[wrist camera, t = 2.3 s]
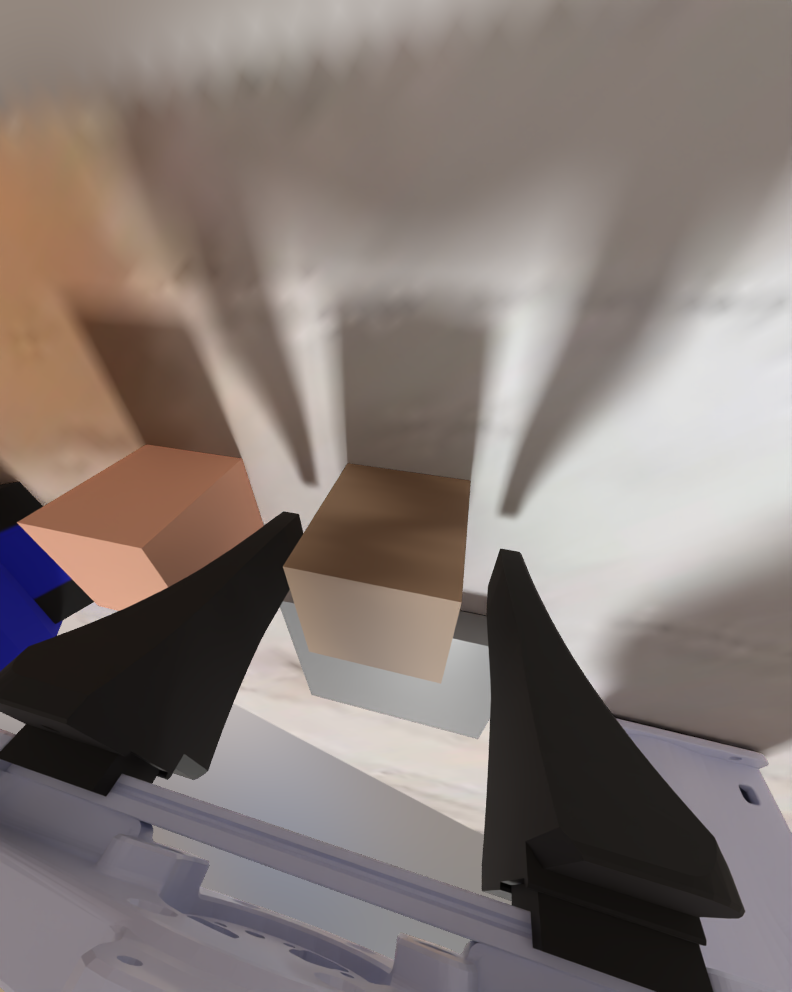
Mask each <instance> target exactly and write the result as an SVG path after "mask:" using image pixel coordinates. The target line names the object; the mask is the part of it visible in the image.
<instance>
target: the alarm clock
mask: <svg viewBox="0 0 792 992" xmlns="http://www.w3.org/2000/svg"><path fill="white" fill-rule="evenodd" d="M42 507H43V506H42V505H41V504H40V503H39V502H38V501H37V500H36V499H35V498H34V497H33V496H32V494H31V493H30V492H29V491H28V490H27V489H26V488H25V487H24V486H23V485H22V484H21V483H20V482H15V483H9V484H3V485H0V671H1V670H2V669H3V668H5V667H6V666H7V665H8V664H9V663H10V662H11V661H12V660H14V659H15V658H16V657H17V656H18V655H19V654H20V653H21V652H23V651H24V650H25V649H26V648H27V647H28V646H31V645H33V644H36V643H39V642H42V641H45V640H47V639H50V638H53V637H55V636H57V634H58V631H59V629H60V626H61V624H62V621H63V620H64V619H66V618H67V617H69V616H71V615H72V614H74V613H76V612H78V611H79V610H81V609H83V608H84V607H86V606H88V605H90V604H91V603H93V602H94V601H93V600H92V599H91V598H90V597H89V596H88V595H87V594H86V593H85V592H84V591H83V590H82V589H81V588H80V587H79V586H78V585H77V584H76V583H75V582H74V580H73V579H72V578H71V577H70V576H69V575H68V574H67V573H66V572H65V571H64V570H63V569H62V568H61V567H60V566H59V565H58V564H57V563H56V562H55V561H54V560H53V559H52V558H51V557H50V556H49V555H48V554H47V553H46V552H45V551H44V550H43V549H42V548H41V547H40V546H39V545H38V544H37V543H36V542H35V541H34V540H33V539H32V538H31V537H30V536H29V535H28V533H27V532H26V531H25V530H24V529H23V528H22V527H21V526H20V525H19V524H18V523H17V522H18V521H20V520H22V519H23V518H25V517H27V516H28V515H30V514H32V513H33V512H35V511H37V510H38V509H40V508H42Z"/></svg>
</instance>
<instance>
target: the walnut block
mask: <svg viewBox="0 0 792 992" xmlns="http://www.w3.org/2000/svg"><path fill="white" fill-rule="evenodd" d="M470 482H471V481H469V480H462V479H455V478H448V477H441V476H434V475H427V474H420V473H413V472H406V471H399V470H392V469H385V468H378V467H371V466H364V465H357V464H350V463H347V465H346V467H345V468H344V470H343V471H342V473H341V475H340V476H339V478H338V479H337V481H336V483H335V484H334V486H333V487H332V489H331V491H330V492H329V494H328V495H327V497H326V498H325V500H324V502H323V503H322V505H321V506H320V508H319V510H318V511H317V513H316V514H315V516H314V518H313V519H312V521H311V522H310V524H309V526H308V527H307V529H306V530H305V532H304V534H303V535H302V537H301V538H300V540H299V542H298V543H297V545H296V546H295V548H294V550H293V551H292V553H291V554H290V556H289V558H288V559H287V561H286V562H285V564H284V565H283V569H284V572H285V575H286V578H287V582H288V585H289V588H290V591H291V594H292V598H293V601H294V604H295V607H296V611H297V614H298V617H299V620H300V623H301V627H302V630H303V633H304V636H305V640H306V643H307V646H308V649H309V652H313V653H317V654H321V655H325V656H329V657H333V658H337V659H342V660H346V661H350V662H354V663H358V664H362V665H366V666H370V667H375V668H379V669H383V670H387V671H391V672H395V673H399V674H403V675H407V676H412V677H416V678H420V679H424V680H428V681H432V682H436V683H440V684H441V682H442V678H443V674H444V670H445V666H446V662H447V658H448V655H449V651H450V647H451V643H452V639H453V635H454V631H455V627H456V623H457V619H458V615H459V611H460V607H461V603H462V591H463V578H464V564H465V550H466V537H467V523H468V510H469V496H470Z"/></svg>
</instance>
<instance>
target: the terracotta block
mask: <svg viewBox="0 0 792 992" xmlns="http://www.w3.org/2000/svg"><path fill="white" fill-rule="evenodd" d="M17 523H18V524H19V525H20V526H21V527H22V528H23V529H24V530H25V531H26V532H27V533H28V535H29V536H30V537H31V538H32V539H33V540H34V541H35V542H36V543H37V544H38V545H39V546H40V547H41V548H42V549H43V550H44V551H45V552H46V553H47V554H48V555H49V556H50V557H51V558H52V559H53V560H54V561H55V562H56V563H57V564H58V565H59V566H60V567H61V568H62V569H63V570H64V571H65V572H66V573H67V574H68V575H69V576H70V577H71V578H72V579H73V580H74V582H75V583H76V584H77V585H78V586H79V587H80V588H81V589H82V590H83V591H84V592H85V593H86V594H87V595H88V596H89V597H90V598H91V599H92V600H93V601H94V602H95V603H96V604H97V605H98V606H102V607H106V608H110V609H114V610H118V611H120V610H122V609H125V608H127V607H129V606H131V605H133V604H135V603H137V602H139V601H141V600H143V599H146V598H148V597H150V596H152V595H154V594H156V593H158V592H160V591H162V590H164V589H166V588H168V587H170V586H171V585H173V584H175V583H177V582H179V581H180V580H182V579H184V578H186V577H188V576H189V575H191V574H193V573H194V572H196V571H198V570H199V569H201V568H203V567H204V566H206V565H207V564H209V563H211V562H212V561H214V560H215V559H217V558H218V557H220V556H221V555H223V554H224V553H226V552H227V551H229V550H230V549H232V548H233V547H235V546H236V545H238V544H239V543H240V542H242V541H243V540H245V539H246V538H248V537H249V536H250V535H252V534H253V533H255V532H256V531H257V530H259V529H260V528H261V527H263V526H264V525H263V522H262V519H261V516H260V512H259V509H258V506H257V503H256V500H255V497H254V494H253V491H252V488H251V485H250V482H249V479H248V475H247V472H246V469H245V466H244V463H243V460H242V458H235V457H228V456H221V455H215V454H208V453H201V452H194V451H188V450H181V449H174V448H168V447H161V446H154V445H147V444H146V445H145V446H143V447H141V448H140V449H138V450H136V451H135V452H133V453H131V454H130V455H128V456H126V457H125V458H123V459H121V460H120V461H118V462H116V463H115V464H113V465H111V466H110V467H108V468H106V469H105V470H103V471H101V472H100V473H98V474H96V475H95V476H93V477H91V478H90V479H88V480H86V481H85V482H83V483H81V484H80V485H78V486H77V487H75V488H73V489H72V490H70V491H68V492H67V493H65V494H63V495H62V496H60V497H58V498H57V499H55V500H53V501H52V502H50V503H48V504H47V505H45V506H43V507H42V508H40V509H38V510H37V511H35V512H33V513H32V514H30V515H28V516H27V517H25V518H23V519H22V520H20V521H18V522H17Z"/></svg>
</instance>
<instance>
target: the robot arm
mask: <svg viewBox="0 0 792 992" xmlns="http://www.w3.org/2000/svg"><path fill="white" fill-rule="evenodd" d="M302 535H303V530H302V526H301V521H300V517H299V514H295V513H289V512H282V513H281V514H279V515H278V516H277V517H275V518H274V519H272V520H271V521H270V522H268V523H267V524H266V525H264V526H263V527H261V528H260V529H259V530H257V531H256V532H255V533H253V534H252V535H250V536H249V537H248V538H246V539H245V540H243V541H242V542H240V543H239V544H238V545H236V546H235V547H233V548H232V549H230V550H229V551H227V552H226V553H224V554H223V555H221V556H220V557H218V558H217V559H215V560H214V561H212V562H211V563H209V564H207V565H206V566H204V567H203V568H201V569H199V570H198V571H196V572H194V573H193V574H191V575H189V576H188V577H186V578H184V579H182V580H180V581H179V582H177V583H175V584H173V585H171V586H170V587H168V588H166V589H164V590H162V591H160V592H158V593H156V594H154V595H152V596H150V597H148V598H146V599H143V600H141V601H139V602H137V603H135V604H133V605H131V606H129V607H127V608H125V609H122V610H120V611H118V612H116V613H113V614H111V615H109V616H106V617H104V618H102V619H99V620H97V621H94V622H92V623H90V624H87V625H85V626H82V627H79V628H77V629H74V630H72V631H69V632H66V633H63V634H61V635H58V636H55V637H53V638H50V639H47V640H45V641H42V642H39V643H36V644H33V645H31V646H28V647H27V648H26V649H25V650H24V651H23V652H21V653H20V654H19V655H18V656H17V657H16V658H15V659H14V660H12V661H11V662H10V663H9V664H8V665H7V666H6V667H5V668H3V669H2V670H1V671H0V712H3V713H5V714H6V715H9V716H11V717H13V718H15V719H17V720H19V721H21V722H23V723H25V724H26V725H25V726H24V727H23V728H22V729H21V730H20V731H19V732H18V733H17V734H16V735H15V734H13V733H10V732H8V731H5V730H2V729H0V987H1V988H2V989H3V990H4V991H5V992H792V833H791V831H790V829H789V827H788V825H787V823H786V821H785V819H784V817H783V815H782V813H781V811H780V809H779V807H778V805H777V803H776V801H775V800H774V798H773V796H772V794H771V792H770V790H769V788H768V786H767V784H766V782H765V780H764V778H763V776H762V774H761V772H760V770H759V769H760V768H762V767H765V766H767V765H768V764H769V763H768V761H767V759H766V757H765V756H764V755H763V754H761V753H758V752H754V751H750V750H746V749H742V748H738V747H733V746H729V745H725V744H721V743H717V742H713V741H708V740H704V739H700V738H696V737H692V736H688V735H684V734H679V733H675V732H671V731H667V730H663V729H659V728H654V727H650V726H646V725H642V724H638V723H634V722H629V721H625V720H621V719H617V718H615V717H614V716H613V714H612V713H611V712H610V710H609V709H608V708H607V706H606V705H605V704H604V702H603V701H602V699H601V698H600V697H599V695H598V694H597V692H596V691H595V689H594V688H593V687H592V685H591V684H590V682H589V681H588V679H587V678H586V676H585V675H584V673H583V672H582V670H581V669H580V667H579V666H578V664H577V663H576V661H575V659H574V658H573V656H572V655H571V653H570V651H569V650H568V648H567V646H566V645H565V643H564V641H563V639H562V638H561V636H560V634H559V632H558V631H557V629H556V627H555V625H554V623H553V622H552V620H551V618H550V616H549V614H548V612H547V610H546V608H545V606H544V604H543V602H542V600H541V598H540V596H539V594H538V592H537V590H536V588H535V585H534V583H533V581H532V579H531V576H530V574H529V572H528V569H527V567H526V565H525V562H524V559H523V557H522V555H521V553H520V552H517V551H511V550H505V549H500V551H499V554H498V557H497V560H496V563H495V566H494V570H493V573H492V576H491V579H490V582H489V585H488V596H487V633H488V649H489V666H490V684H491V706H490V736H489V760H488V780H487V798H486V814H485V829H484V844H483V858H482V891H483V892H486V893H489V894H492V895H495V896H498V897H501V898H504V899H507V900H510V901H512V905H509V904H506V903H503V902H500V901H497V900H494V899H491V898H488V897H485V896H482V895H479V894H476V893H473V892H470V891H467V890H464V889H462V888H459V887H456V886H453V885H450V884H447V883H444V882H441V881H438V880H435V879H432V878H429V877H426V876H423V875H420V874H417V873H414V872H411V871H408V870H405V869H402V868H399V867H396V866H393V865H390V864H388V863H384V862H382V861H379V860H376V859H373V858H370V857H366V856H364V855H361V854H358V853H355V852H352V851H349V850H346V849H343V848H340V847H337V846H334V845H331V844H328V843H325V842H323V841H320V840H316V839H314V838H311V837H308V836H304V835H302V834H299V833H295V832H293V831H290V830H287V829H284V828H281V827H278V826H275V825H272V824H269V823H266V822H263V821H260V820H257V819H255V818H251V817H249V816H245V815H243V814H240V813H237V812H234V811H231V810H228V809H225V808H222V807H219V806H216V805H213V804H210V803H207V802H204V801H201V800H198V799H195V798H192V797H189V796H186V795H184V794H181V793H178V792H175V791H172V790H169V789H166V788H162V787H160V786H157V785H154V784H152V783H153V781H154V780H155V778H156V776H158V777H161V778H165V779H167V780H168V779H169V778H170V777H171V775H172V774H173V773H174V774H177V775H180V776H183V777H186V778H189V779H192V780H195V779H198V778H199V777H201V776H202V775H204V774H205V773H206V772H207V771H208V769H209V767H210V764H211V761H212V758H213V755H214V752H215V750H216V747H217V744H218V741H219V739H220V736H221V733H222V730H223V728H224V725H225V723H226V720H227V718H228V715H229V712H230V710H231V707H232V705H233V702H234V700H235V697H236V695H237V693H238V690H239V688H240V686H241V683H242V681H243V679H244V676H245V674H246V672H247V669H248V667H249V665H250V663H251V660H252V658H253V656H254V654H255V652H256V650H257V647H258V645H259V643H260V641H261V639H262V637H263V635H264V633H265V631H266V630H267V628H268V626H269V624H270V623H271V621H272V619H273V618H274V616H275V614H276V612H277V611H278V609H279V607H280V606H281V604H282V602H283V600H284V599H285V597H286V595H287V593H288V592H289V590H290V588H289V585H288V582H287V578H286V575H285V572H284V569H283V565H284V564H285V562H286V561H287V559H288V558H289V556H290V554H291V553H292V551H293V550H294V548H295V546H296V545H297V543H298V542H299V540H300V538H301V537H302ZM151 824H152V825H155V826H157V827H160V828H163V829H166V830H168V831H171V832H174V833H177V834H179V835H182V836H185V837H188V838H190V839H193V840H196V841H199V842H202V843H204V844H207V845H210V846H213V847H215V848H218V849H221V850H224V851H227V852H229V853H232V854H235V855H237V856H240V857H243V858H246V859H249V860H251V861H254V862H257V863H260V864H263V865H265V866H268V867H271V868H273V869H276V870H279V871H282V872H285V873H287V874H290V875H293V876H296V877H298V878H301V879H304V880H307V881H309V882H312V883H315V884H318V885H321V886H323V887H326V888H329V889H332V890H334V891H337V892H340V893H343V894H345V895H348V896H351V897H354V898H357V899H359V900H362V901H365V902H368V903H370V904H373V905H376V906H379V907H382V908H384V909H387V910H390V911H393V912H396V913H398V914H401V915H404V916H406V917H409V918H412V919H415V920H417V921H420V922H423V923H426V924H429V925H432V926H434V927H437V928H440V929H443V930H445V931H448V932H451V933H454V934H456V935H459V936H462V937H465V938H467V939H470V940H473V941H470V942H469V943H467V944H466V946H465V948H464V951H463V952H462V953H461V954H458V953H456V952H454V951H452V950H450V949H448V948H445V947H442V946H440V945H437V944H434V943H431V942H428V941H425V940H422V939H419V938H416V937H413V936H410V935H407V934H404V933H400V934H399V935H398V936H397V944H396V951H395V959H394V960H393V959H391V958H388V957H386V956H384V955H381V954H379V953H377V952H374V951H372V950H370V949H367V948H365V947H362V946H360V945H358V944H356V943H353V942H351V941H348V940H346V939H344V938H341V937H339V936H337V935H334V934H332V933H329V932H327V931H324V930H321V929H319V928H317V927H314V926H311V925H309V924H306V923H304V922H301V921H298V920H296V919H293V918H290V917H288V916H285V915H282V914H279V913H277V912H273V911H271V910H268V909H265V908H262V907H260V906H257V905H254V904H251V903H248V902H245V901H242V900H239V899H236V898H233V897H230V896H227V895H225V894H222V893H219V892H216V891H213V890H210V889H207V888H204V887H201V883H202V881H203V879H204V877H205V874H206V872H207V870H208V868H209V861H208V860H205V859H203V858H201V857H198V856H196V855H194V854H191V853H189V852H186V851H183V850H180V849H177V848H174V847H171V846H168V845H164V844H161V843H157V842H154V841H153V839H152V835H153V827H152V825H151Z"/></svg>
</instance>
